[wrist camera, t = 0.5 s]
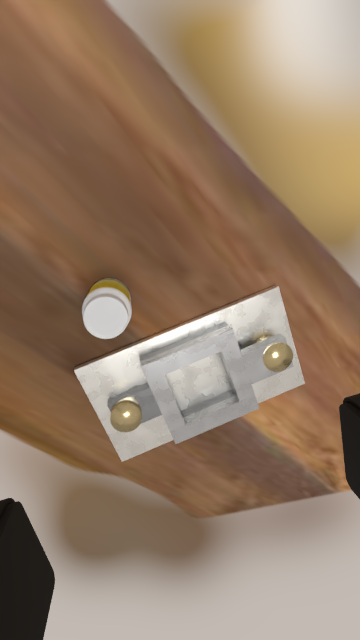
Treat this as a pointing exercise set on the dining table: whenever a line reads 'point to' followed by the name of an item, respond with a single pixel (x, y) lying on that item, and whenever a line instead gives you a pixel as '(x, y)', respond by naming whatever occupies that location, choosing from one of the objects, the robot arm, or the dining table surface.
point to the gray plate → (193, 374)
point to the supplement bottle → (107, 308)
